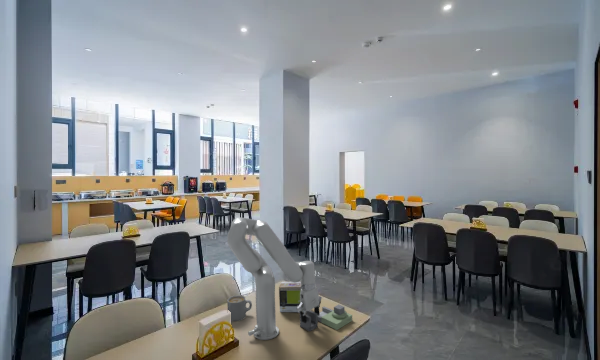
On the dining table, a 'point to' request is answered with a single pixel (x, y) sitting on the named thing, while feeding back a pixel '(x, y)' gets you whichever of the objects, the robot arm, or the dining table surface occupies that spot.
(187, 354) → the dining table surface
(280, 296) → the tea box
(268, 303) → the robot arm
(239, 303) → the coffee mug
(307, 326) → the chute
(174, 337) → the dining table surface
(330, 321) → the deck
